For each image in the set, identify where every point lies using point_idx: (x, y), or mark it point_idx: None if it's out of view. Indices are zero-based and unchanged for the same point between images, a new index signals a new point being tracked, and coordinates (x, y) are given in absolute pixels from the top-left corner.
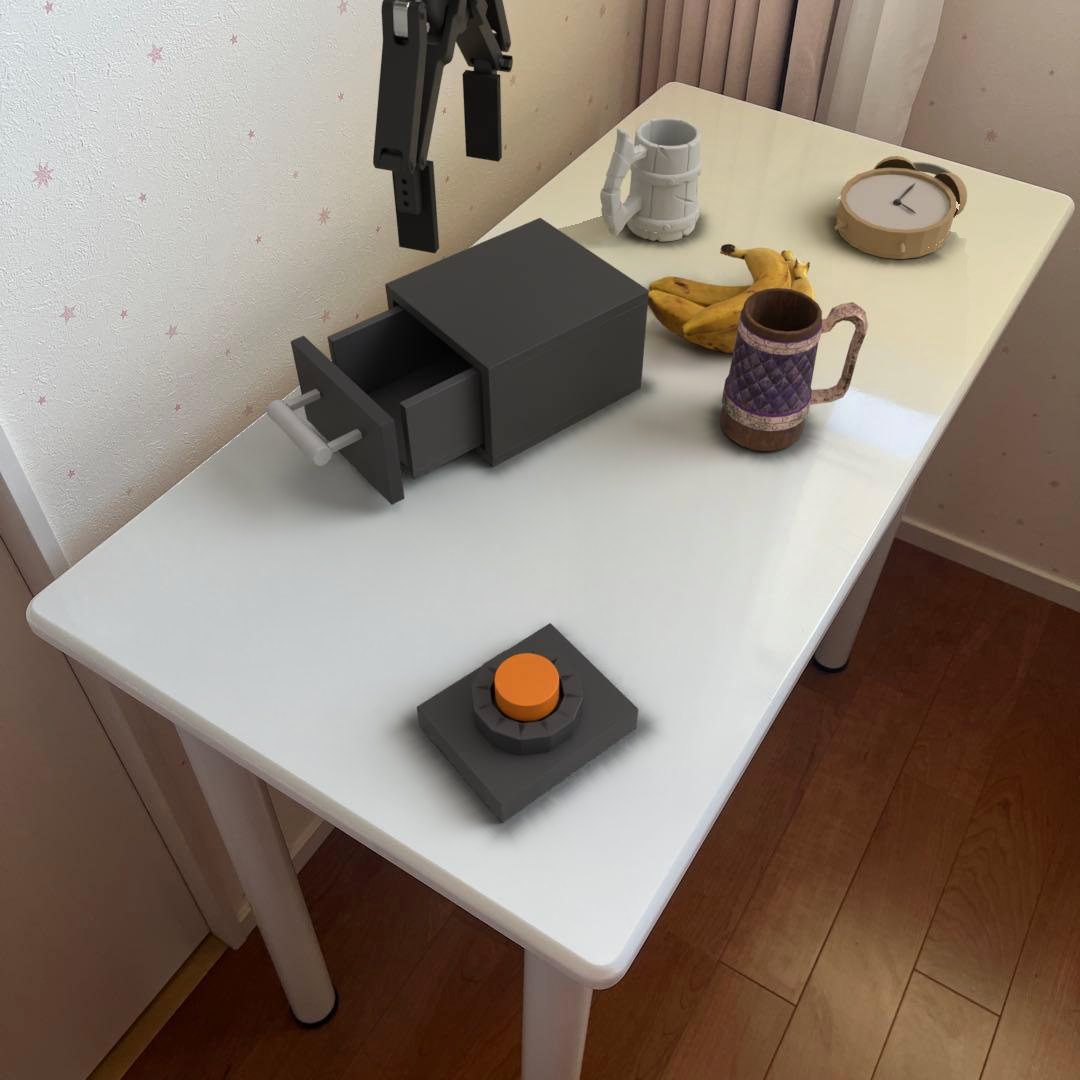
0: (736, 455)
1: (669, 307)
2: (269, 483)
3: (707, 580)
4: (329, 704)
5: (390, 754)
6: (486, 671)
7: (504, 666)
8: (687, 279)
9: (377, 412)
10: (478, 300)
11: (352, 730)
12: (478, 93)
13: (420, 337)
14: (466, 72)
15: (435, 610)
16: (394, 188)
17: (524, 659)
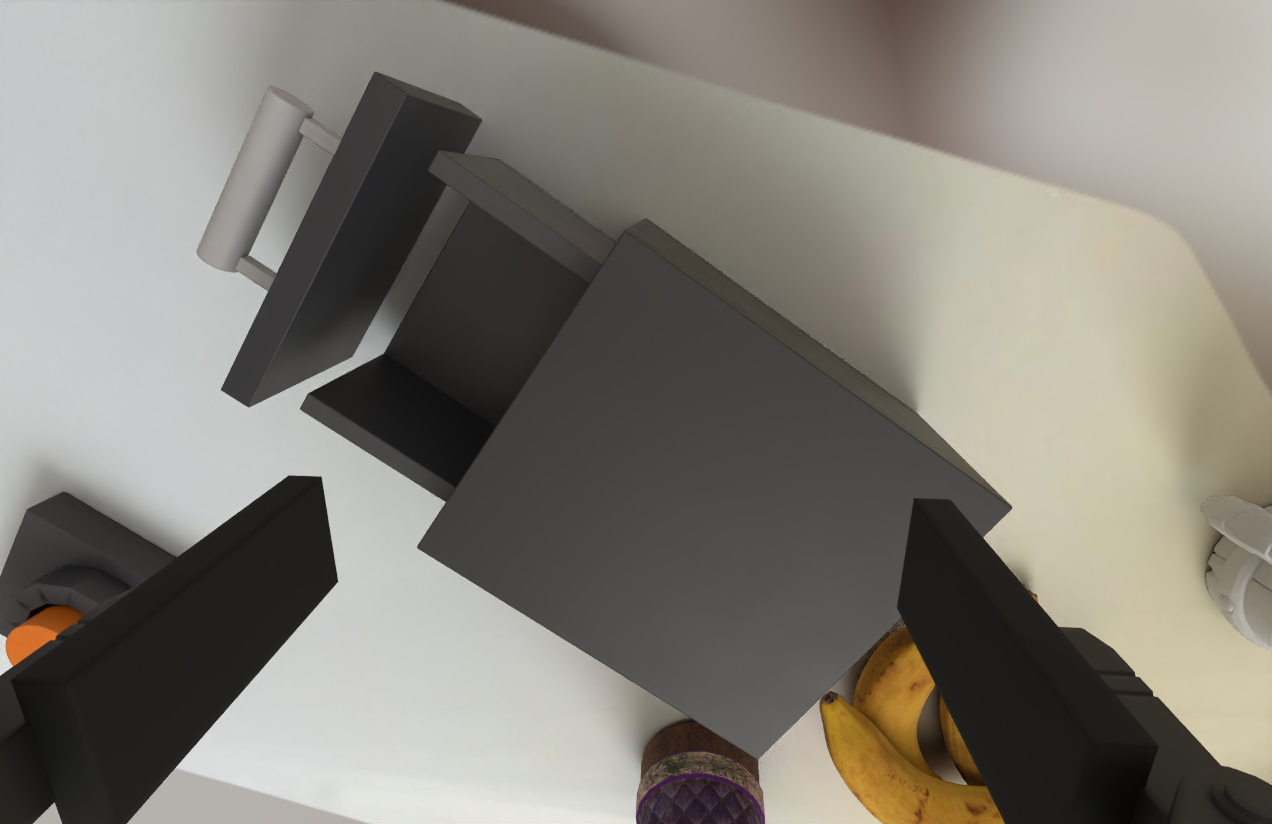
0: (630, 741)
1: (897, 671)
2: (316, 102)
3: (404, 732)
4: (29, 381)
5: (17, 473)
6: (63, 594)
7: (42, 632)
8: None
9: (251, 370)
10: (625, 467)
11: (17, 421)
12: (1019, 737)
13: None
14: (1118, 756)
15: (216, 455)
16: (134, 593)
17: None
